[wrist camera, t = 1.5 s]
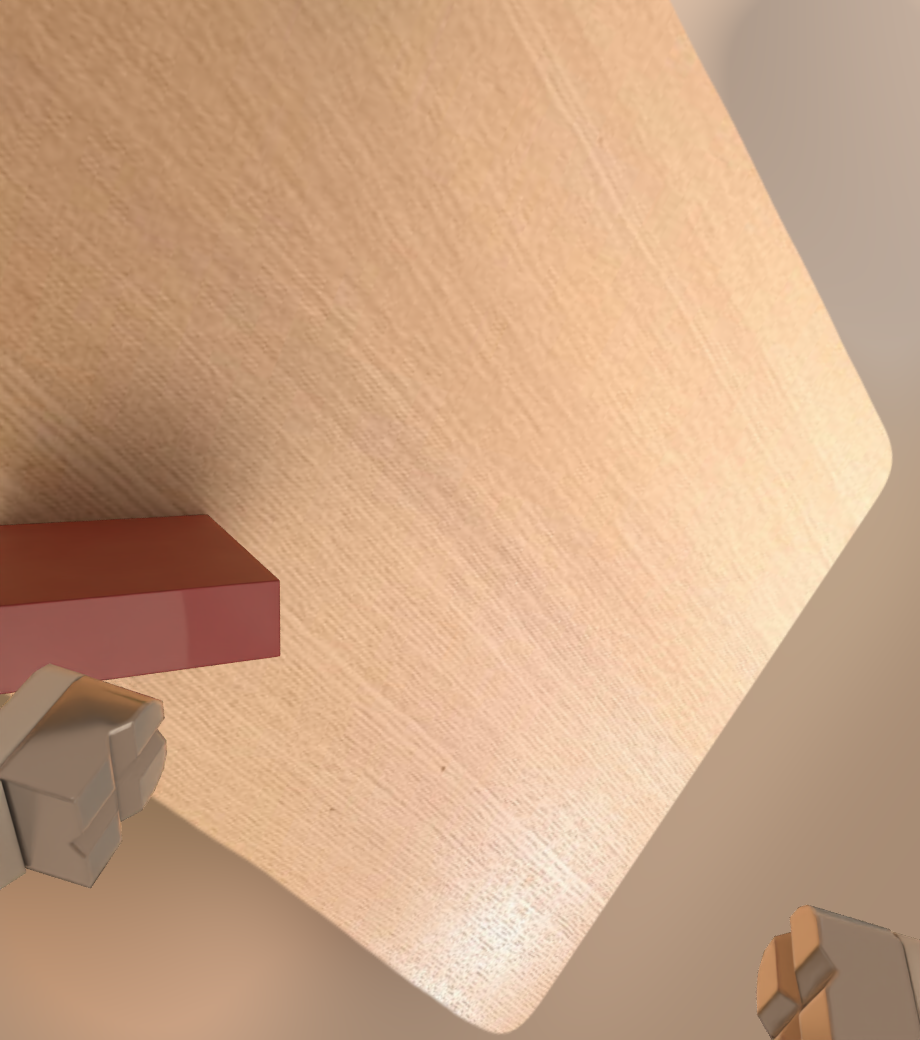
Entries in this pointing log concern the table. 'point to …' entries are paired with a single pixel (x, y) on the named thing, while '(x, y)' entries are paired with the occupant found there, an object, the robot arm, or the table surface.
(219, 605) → the book
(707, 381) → the table surface
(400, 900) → the table surface
